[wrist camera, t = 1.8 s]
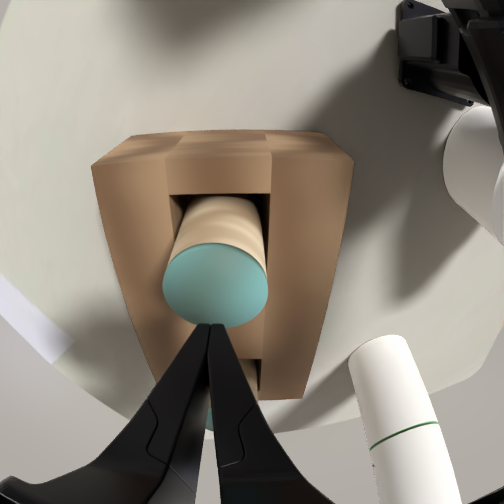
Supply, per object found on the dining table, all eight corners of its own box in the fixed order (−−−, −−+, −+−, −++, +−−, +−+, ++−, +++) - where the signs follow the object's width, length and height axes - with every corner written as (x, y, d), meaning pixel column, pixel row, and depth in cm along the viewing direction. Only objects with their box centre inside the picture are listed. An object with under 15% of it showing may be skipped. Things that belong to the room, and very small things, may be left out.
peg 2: (256, 342, 22) (259, 411, 17) (255, 372, 24) (257, 433, 19) (202, 342, 22) (195, 410, 17) (207, 371, 24) (203, 432, 19)
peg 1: (261, 185, 15) (270, 248, 10) (259, 252, 17) (265, 328, 13) (181, 186, 15) (154, 249, 10) (188, 252, 17) (171, 327, 12)
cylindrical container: (350, 379, 33) (388, 571, 13) (344, 347, 29) (393, 582, 9) (404, 361, 32) (458, 545, 11) (407, 326, 28) (481, 547, 8)
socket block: (322, 132, 18) (354, 161, 13) (294, 346, 29) (302, 398, 24) (131, 136, 17) (90, 166, 12) (172, 345, 28) (163, 397, 23)
